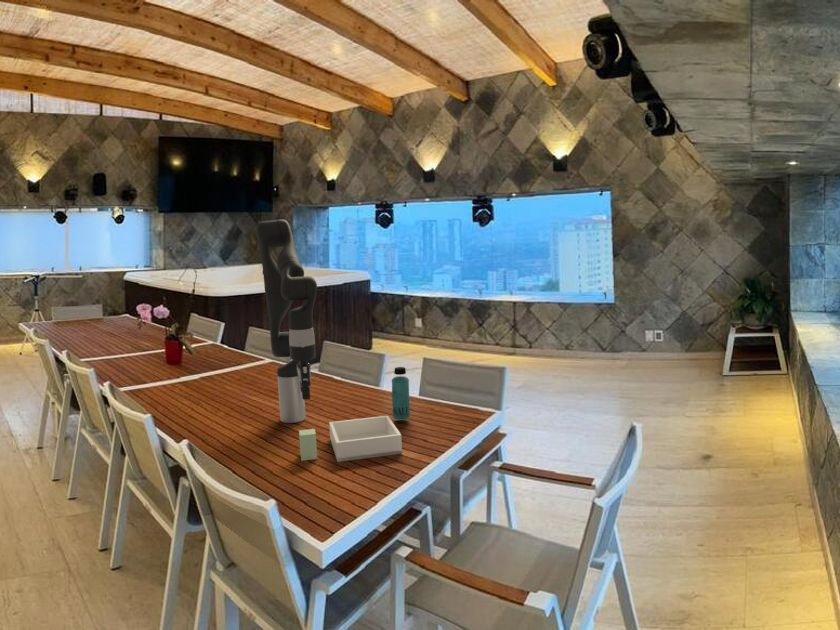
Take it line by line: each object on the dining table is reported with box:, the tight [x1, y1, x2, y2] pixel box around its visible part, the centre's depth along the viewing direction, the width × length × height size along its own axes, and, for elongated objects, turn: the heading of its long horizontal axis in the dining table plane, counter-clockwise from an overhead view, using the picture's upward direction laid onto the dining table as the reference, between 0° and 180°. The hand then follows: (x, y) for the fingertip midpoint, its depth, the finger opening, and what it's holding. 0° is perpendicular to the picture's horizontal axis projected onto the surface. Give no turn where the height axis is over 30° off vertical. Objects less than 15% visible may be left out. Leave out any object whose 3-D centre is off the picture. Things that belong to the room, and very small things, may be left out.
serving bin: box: [328, 415, 403, 463], centre depth 181 cm, size 20×20×6 cm
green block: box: [298, 428, 318, 462], centre depth 174 cm, size 5×5×8 cm
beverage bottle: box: [391, 366, 411, 421], centre depth 204 cm, size 6×7×20 cm
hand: (305, 395), depth 172 cm, fingers open, 8 cm apart
